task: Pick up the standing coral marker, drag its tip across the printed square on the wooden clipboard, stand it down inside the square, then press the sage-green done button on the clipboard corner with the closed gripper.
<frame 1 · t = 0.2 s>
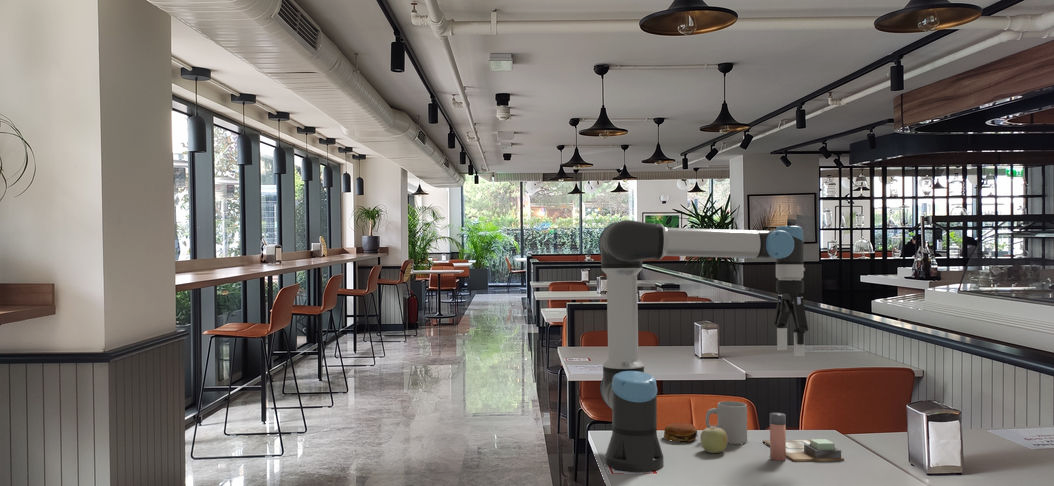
hand: (790, 353, 203), 27 cm above the table, fingers open, 13 cm apart
done button: (822, 444, 193), point 3 cm above the table, slide at 0.0 cm
fruit: (713, 452, 198), on the table
burger: (680, 440, 213), on the table
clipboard: (801, 451, 199), on the table
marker: (778, 458, 191), on the table
mug: (726, 441, 211), on the table
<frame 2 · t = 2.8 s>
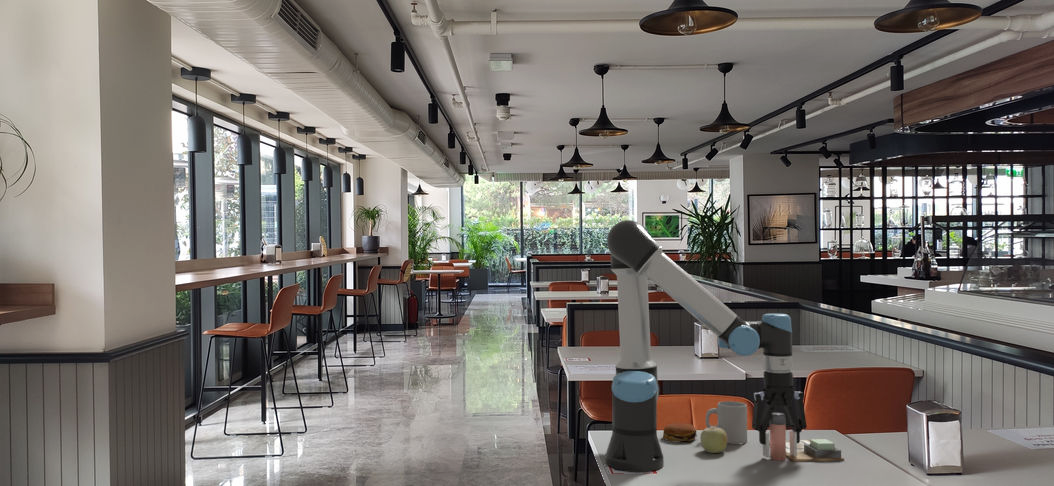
hand: (779, 455, 191), 1 cm above the table, fingers open, 7 cm apart
nothing on the table moved.
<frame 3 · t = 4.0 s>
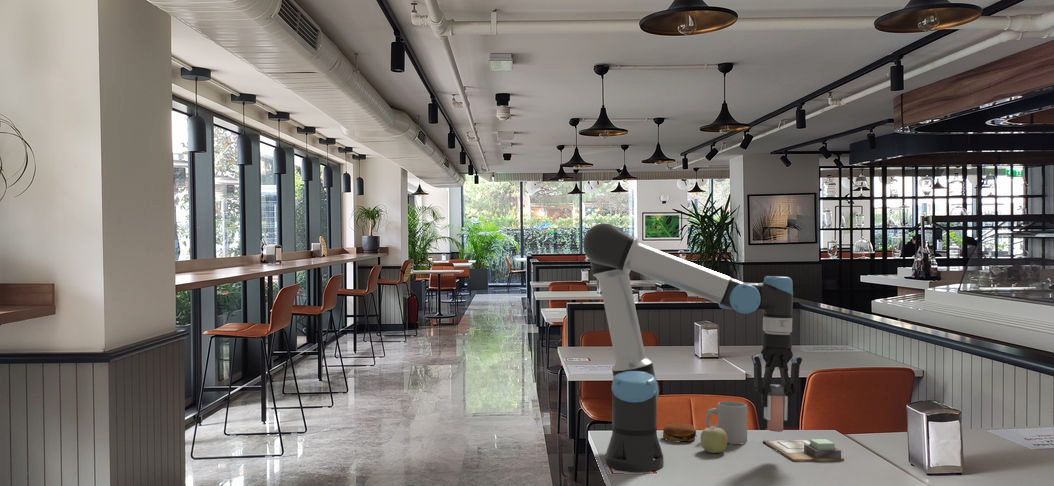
hand: (775, 418, 192), 11 cm above the table, fingers closed on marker, 4 cm apart
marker: (775, 429, 191), point 8 cm above the table, touching gripper
everything else where it was.
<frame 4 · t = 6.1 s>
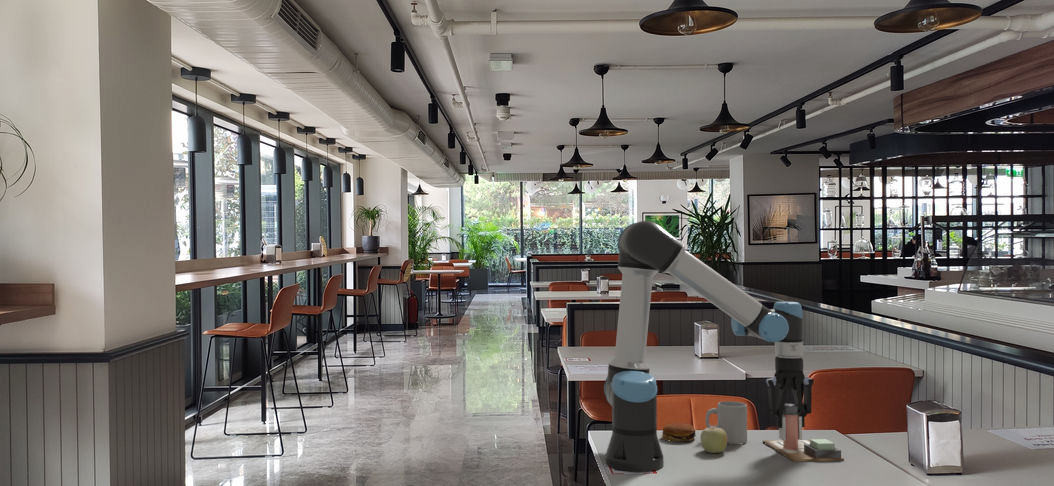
hand: (790, 438, 200), 3 cm above the table, fingers closed on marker, 4 cm apart
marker: (790, 447, 200), point 1 cm above the table, touching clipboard, gripper
everything else where it was.
when the fingers open (2 cm above the table, at t = 8.3 s): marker stays where it is, resting on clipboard.
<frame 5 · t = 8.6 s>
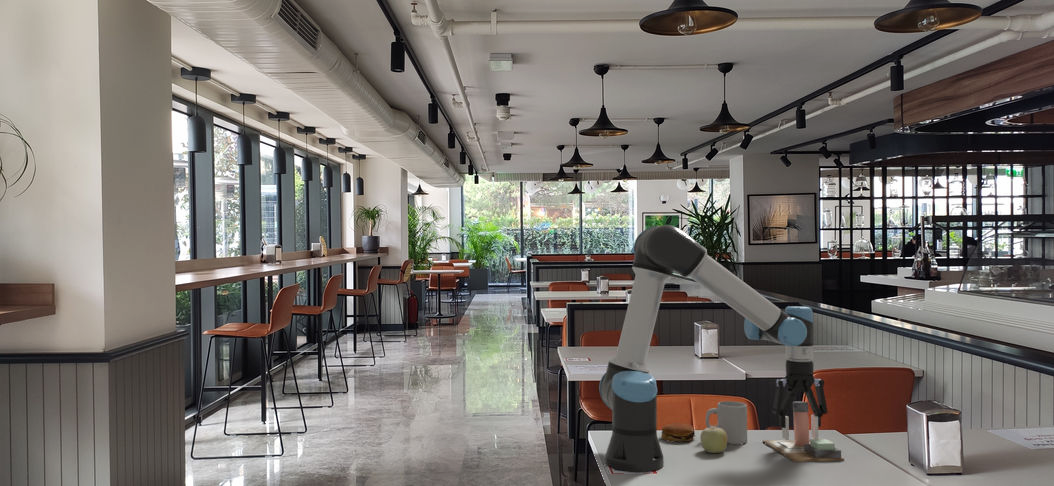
hand: (800, 438, 204), 2 cm above the table, fingers open, 8 cm apart
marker: (802, 444, 203), point 1 cm above the table, touching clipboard
everything else where it was.
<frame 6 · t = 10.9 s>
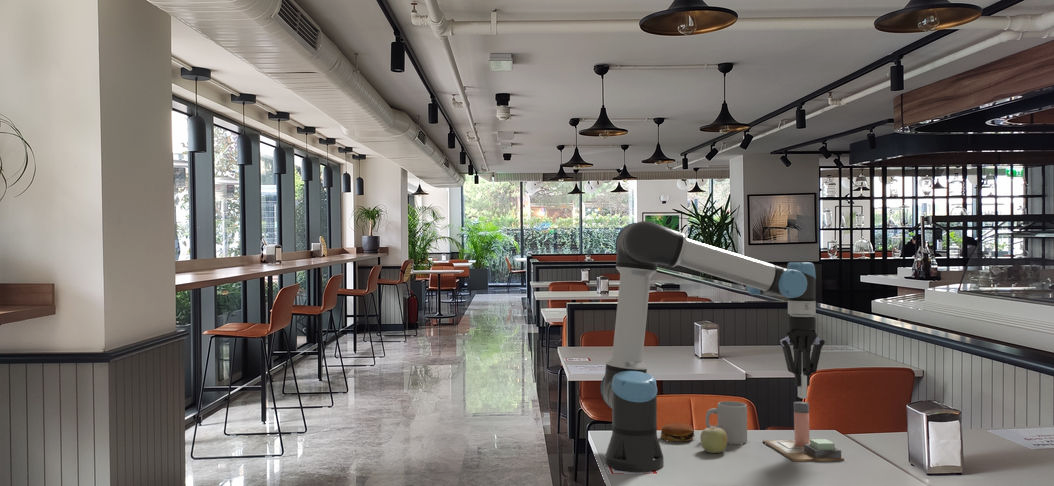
hand: (802, 397, 203), 14 cm above the table, fingers closed
nothing on the table moved.
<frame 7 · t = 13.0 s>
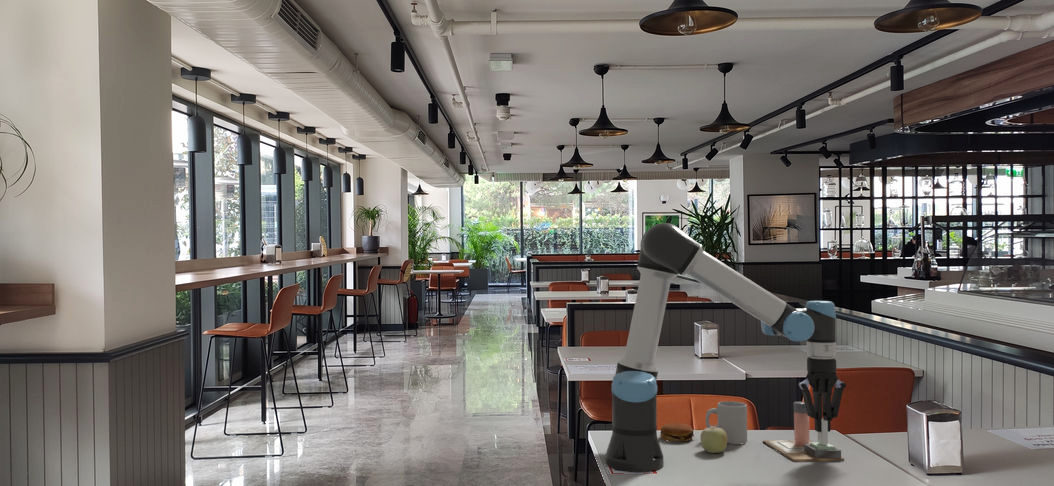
hand: (822, 443, 193), 4 cm above the table, fingers closed
done button: (822, 447, 193), point 2 cm above the table, slide at 0.8 cm, touching gripper
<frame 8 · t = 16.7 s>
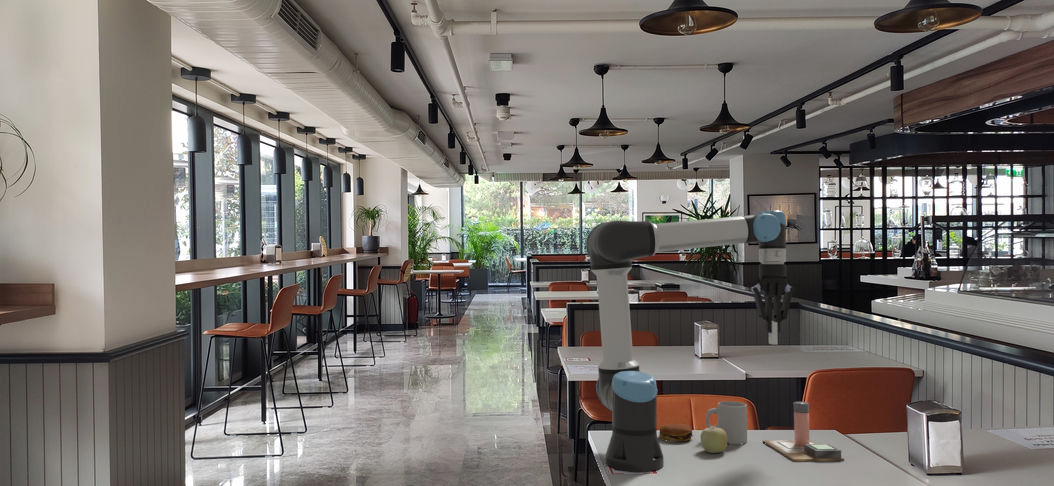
hand: (773, 343, 206), 29 cm above the table, fingers closed
done button: (822, 450, 193), point 2 cm above the table, slide at 1.5 cm
at the end: done button slide at 1.5 cm; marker inside the target area (1.9 cm from its centre), point 0.7 cm above the table; the gripper is holding nothing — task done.
